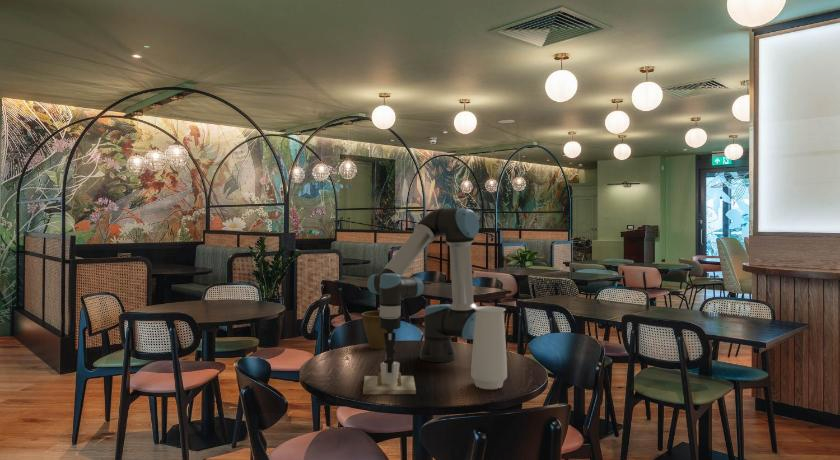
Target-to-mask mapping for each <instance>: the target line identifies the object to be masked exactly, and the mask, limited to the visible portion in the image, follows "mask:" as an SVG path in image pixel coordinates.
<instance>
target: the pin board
mask: <svg viewBox="0 0 840 460" xmlns="http://www.w3.org/2000/svg"><path fill="white" fill-rule="evenodd" d="M362 388H363V389H362V395H416V393H417V391H416V390H417V389H416V388H417V387H416V383H415V377H414V375H402V373H401V372H399V374H398V378H397V384H393V385H387V384H383V383H382V377H381V372H377V375H364V381H363V387H362Z"/></svg>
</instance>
